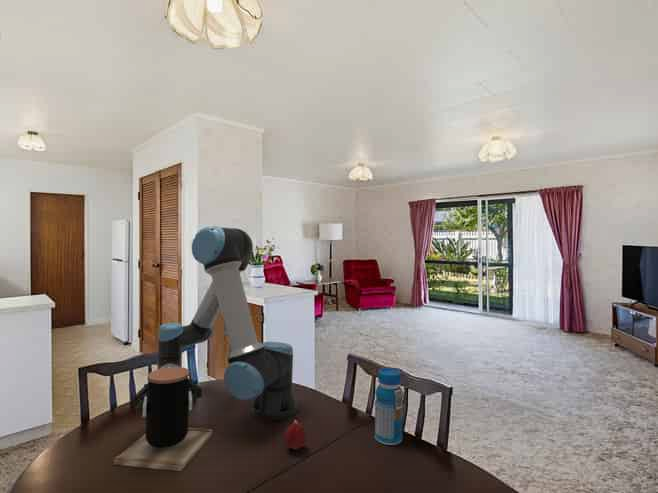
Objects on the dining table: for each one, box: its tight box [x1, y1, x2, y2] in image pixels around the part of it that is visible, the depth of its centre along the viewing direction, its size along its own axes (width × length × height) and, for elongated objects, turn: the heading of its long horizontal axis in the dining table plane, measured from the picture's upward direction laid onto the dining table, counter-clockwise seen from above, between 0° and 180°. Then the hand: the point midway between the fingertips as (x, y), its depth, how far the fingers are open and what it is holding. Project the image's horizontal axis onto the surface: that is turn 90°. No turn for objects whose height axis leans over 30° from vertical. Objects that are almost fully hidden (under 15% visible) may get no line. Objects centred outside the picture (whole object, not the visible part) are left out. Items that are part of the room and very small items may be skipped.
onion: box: [284, 419, 307, 451], centre depth 100 cm, size 6×6×8 cm
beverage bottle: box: [374, 367, 405, 446], centre depth 107 cm, size 8×8×20 cm
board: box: [113, 426, 214, 472], centre depth 99 cm, size 18×18×2 cm
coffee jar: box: [145, 366, 190, 448], centre depth 99 cm, size 11×11×18 cm
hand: (168, 408), depth 96 cm, fingers closed on coffee jar, 10 cm apart
